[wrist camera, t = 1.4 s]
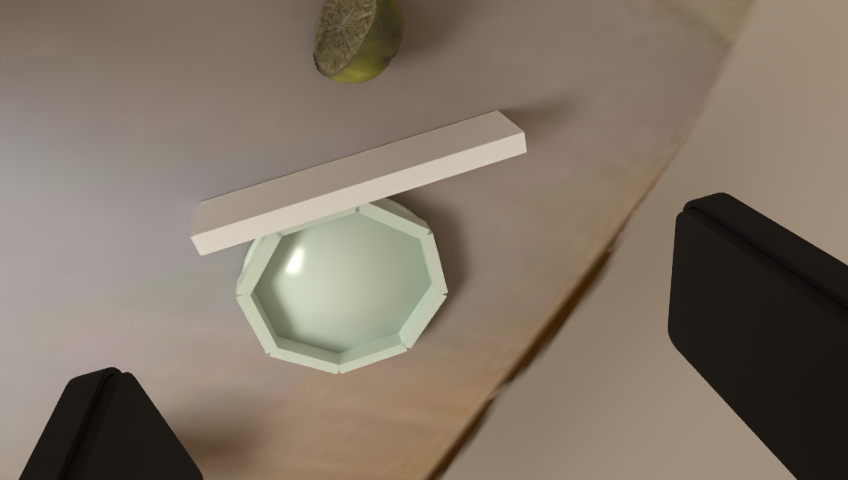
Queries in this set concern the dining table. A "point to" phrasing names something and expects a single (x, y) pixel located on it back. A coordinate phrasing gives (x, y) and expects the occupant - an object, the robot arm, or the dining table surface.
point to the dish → (343, 287)
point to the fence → (354, 181)
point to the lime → (357, 38)
